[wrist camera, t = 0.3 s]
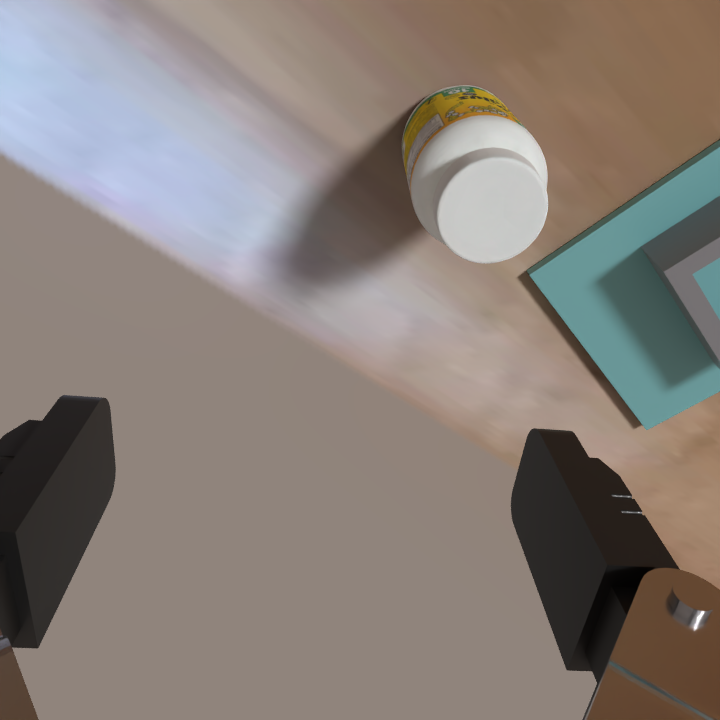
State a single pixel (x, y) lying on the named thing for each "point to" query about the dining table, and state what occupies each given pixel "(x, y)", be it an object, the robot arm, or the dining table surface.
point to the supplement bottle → (474, 174)
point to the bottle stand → (649, 291)
